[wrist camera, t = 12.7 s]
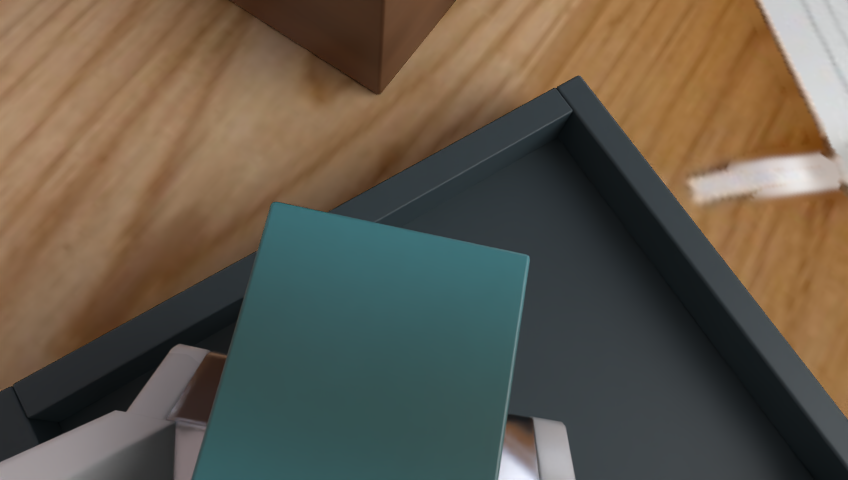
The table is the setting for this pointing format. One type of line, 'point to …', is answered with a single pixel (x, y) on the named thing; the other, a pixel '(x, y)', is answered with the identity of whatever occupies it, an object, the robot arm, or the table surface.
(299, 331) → the eraser
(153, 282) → the table surface
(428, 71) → the table surface
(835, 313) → the table surface
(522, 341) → the tray
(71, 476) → the robot arm
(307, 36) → the stand
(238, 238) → the table surface
